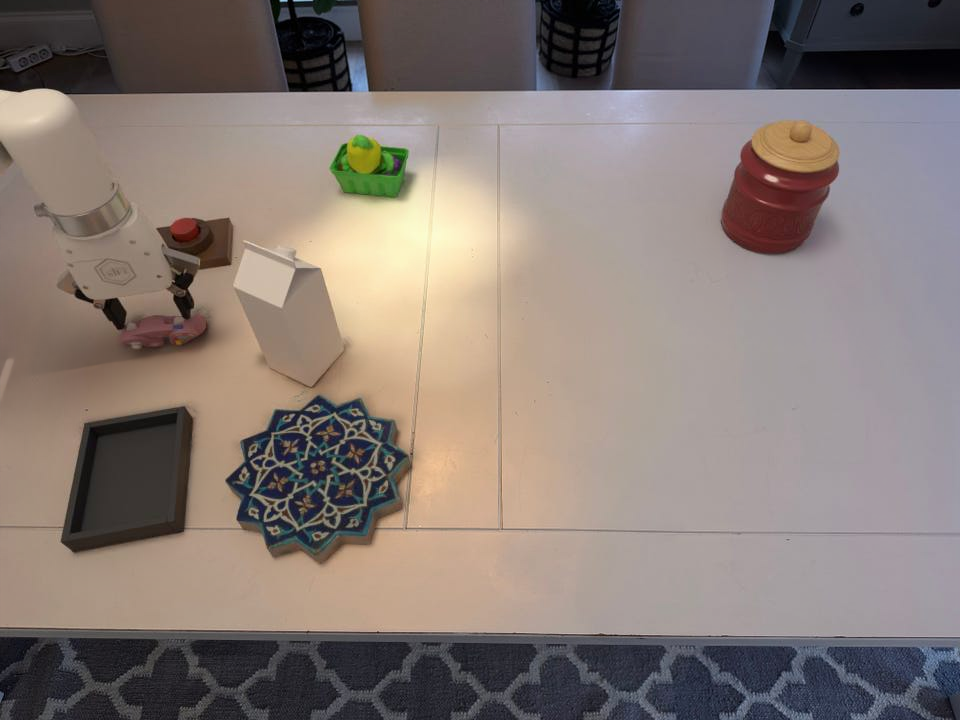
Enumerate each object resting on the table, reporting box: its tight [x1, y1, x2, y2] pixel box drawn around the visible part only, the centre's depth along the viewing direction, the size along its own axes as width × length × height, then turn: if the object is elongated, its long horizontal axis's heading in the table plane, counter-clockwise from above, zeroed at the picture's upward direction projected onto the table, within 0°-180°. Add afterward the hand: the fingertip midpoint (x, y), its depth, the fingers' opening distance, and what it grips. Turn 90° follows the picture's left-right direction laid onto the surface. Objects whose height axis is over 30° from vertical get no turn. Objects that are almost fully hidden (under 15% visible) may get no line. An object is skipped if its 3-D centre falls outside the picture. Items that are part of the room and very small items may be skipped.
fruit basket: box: [328, 134, 410, 198], centre depth 106 cm, size 11×9×11 cm
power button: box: [170, 217, 200, 243], centre depth 99 cm, size 4×4×2 cm
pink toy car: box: [120, 313, 207, 350], centre depth 88 cm, size 10×5×7 cm, turn 99°
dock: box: [60, 405, 194, 553], centre depth 76 cm, size 12×15×3 cm
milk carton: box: [232, 239, 345, 388], centre depth 81 cm, size 7×7×19 cm
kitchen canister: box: [721, 119, 841, 255], centre depth 95 cm, size 13×13×18 cm
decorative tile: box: [225, 393, 412, 565], centre depth 76 cm, size 20×20×2 cm
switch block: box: [155, 217, 233, 273], centre depth 100 cm, size 11×9×4 cm
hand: (155, 316), depth 87 cm, fingers closed on pink toy car, 7 cm apart
